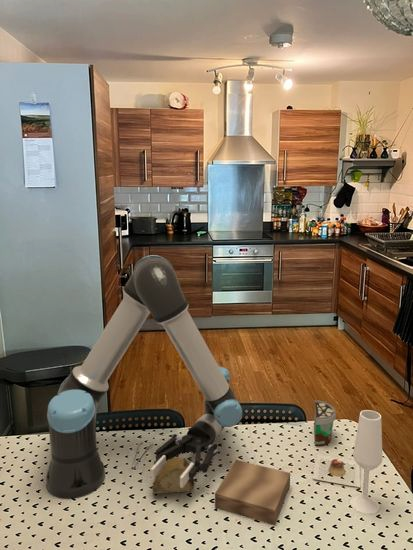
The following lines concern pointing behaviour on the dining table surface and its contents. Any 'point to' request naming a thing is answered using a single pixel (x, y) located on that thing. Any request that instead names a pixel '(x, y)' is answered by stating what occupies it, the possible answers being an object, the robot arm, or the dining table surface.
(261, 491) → the plinth
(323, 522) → the dining table surface
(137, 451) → the tweezers
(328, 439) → the food container
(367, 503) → the champagne flute
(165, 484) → the rock
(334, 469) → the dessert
